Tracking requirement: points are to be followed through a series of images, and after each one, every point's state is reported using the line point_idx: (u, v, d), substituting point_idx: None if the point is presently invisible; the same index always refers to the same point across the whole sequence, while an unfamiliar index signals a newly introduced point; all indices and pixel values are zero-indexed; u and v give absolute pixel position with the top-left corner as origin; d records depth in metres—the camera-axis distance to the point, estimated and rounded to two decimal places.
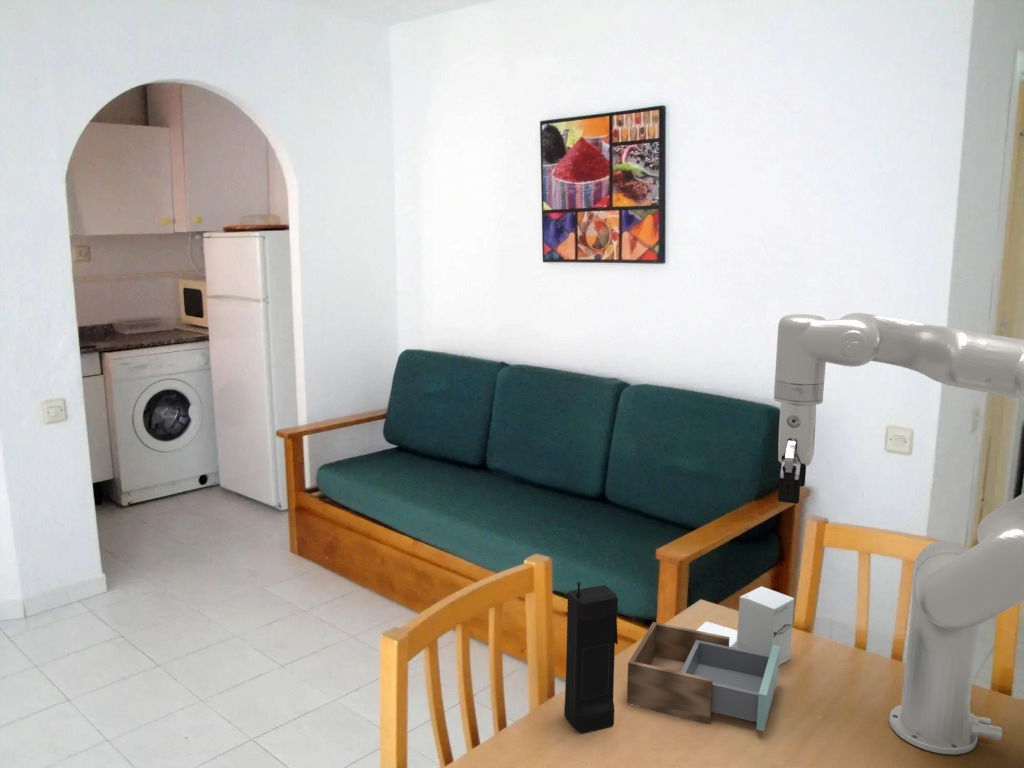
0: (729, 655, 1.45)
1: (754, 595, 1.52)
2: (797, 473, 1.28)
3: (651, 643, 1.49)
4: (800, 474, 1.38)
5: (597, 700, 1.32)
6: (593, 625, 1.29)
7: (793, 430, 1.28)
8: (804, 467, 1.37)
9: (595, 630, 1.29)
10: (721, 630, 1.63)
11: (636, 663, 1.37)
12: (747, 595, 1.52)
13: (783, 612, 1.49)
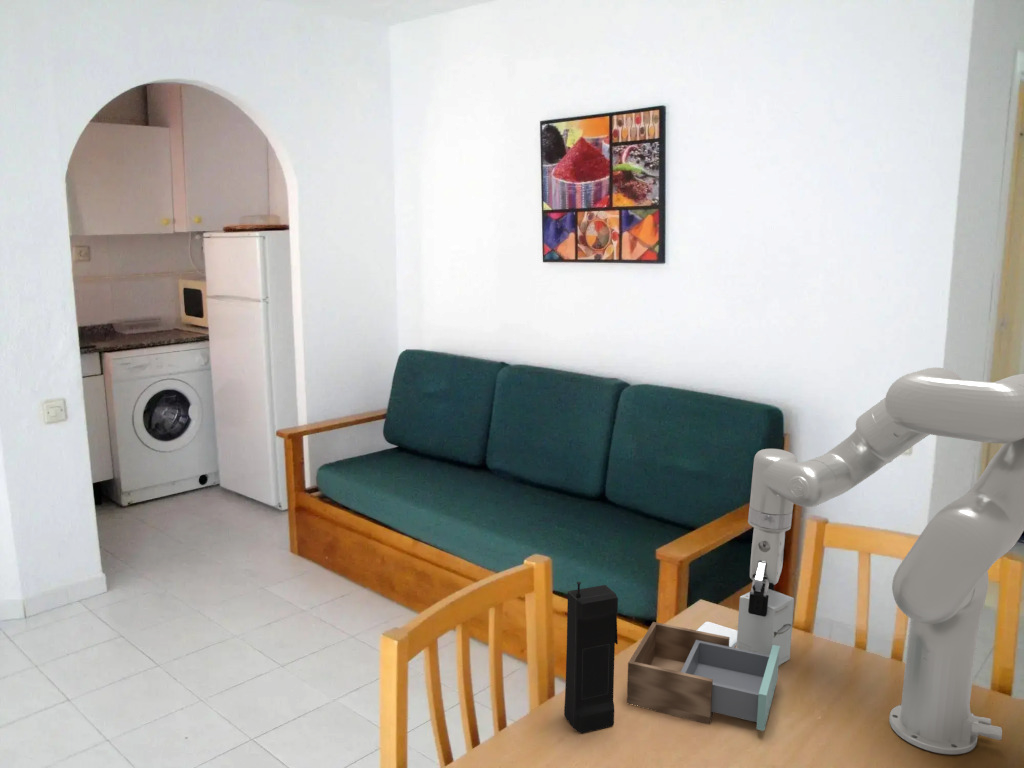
0: (729, 655, 1.45)
1: None
2: (765, 591, 1.46)
3: (651, 643, 1.49)
4: (770, 583, 1.56)
5: (597, 700, 1.32)
6: (593, 625, 1.29)
7: (763, 554, 1.45)
8: None
9: (595, 630, 1.29)
10: (721, 630, 1.63)
11: (636, 663, 1.37)
12: (747, 595, 1.52)
13: (783, 612, 1.49)
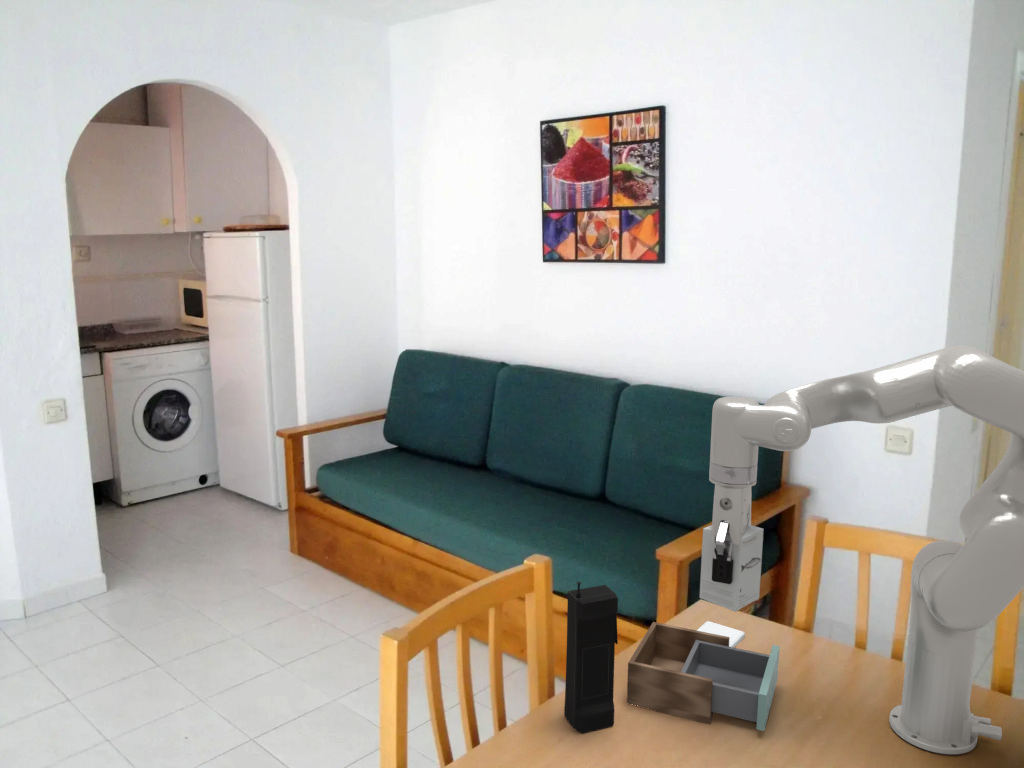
0: (729, 655, 1.45)
1: None
2: (729, 555, 1.30)
3: (651, 643, 1.49)
4: None
5: (597, 700, 1.32)
6: (593, 625, 1.29)
7: (725, 512, 1.30)
8: None
9: (595, 630, 1.29)
10: (722, 630, 1.63)
11: (636, 663, 1.37)
12: (711, 526, 1.35)
13: (752, 543, 1.33)
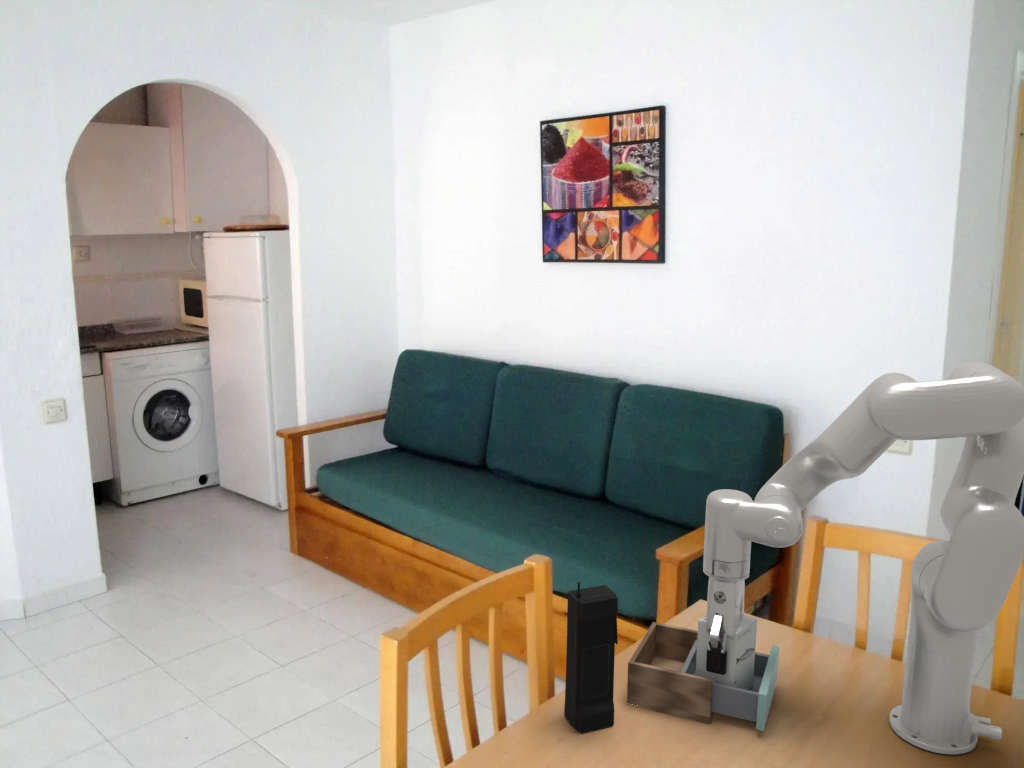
0: None
1: None
2: (723, 647, 1.33)
3: (651, 643, 1.49)
4: None
5: (597, 700, 1.32)
6: (593, 625, 1.29)
7: (719, 606, 1.33)
8: None
9: (595, 630, 1.29)
10: None
11: (636, 663, 1.37)
12: None
13: (746, 636, 1.35)
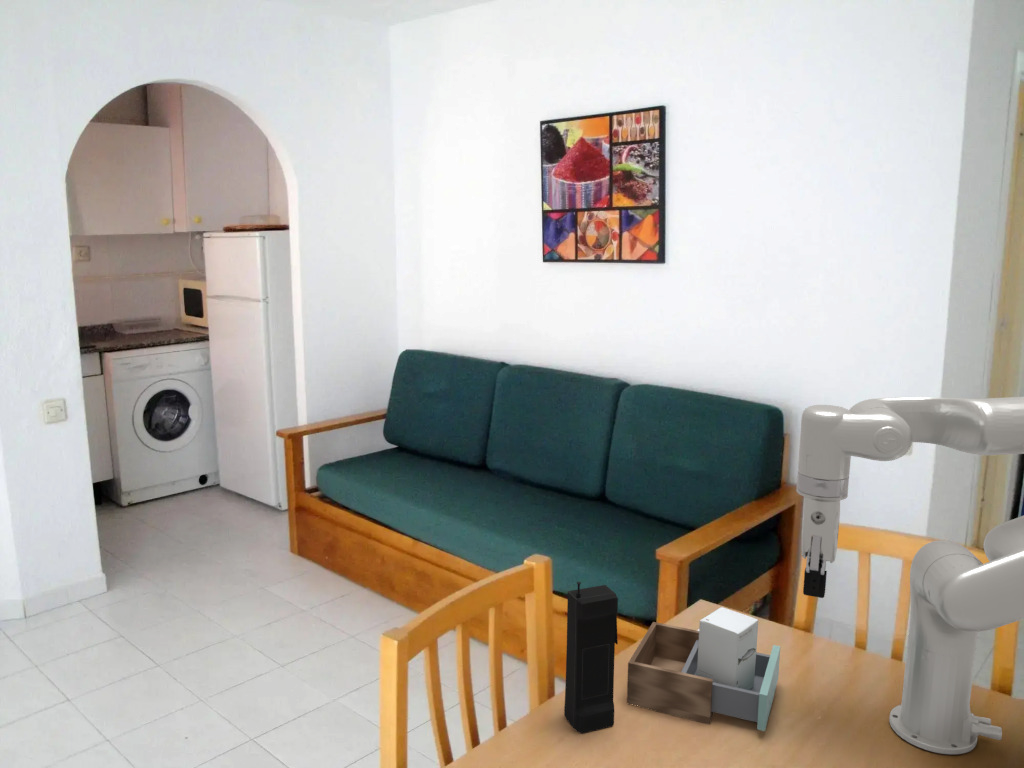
0: None
1: (715, 618, 1.38)
2: (823, 571, 1.28)
3: (651, 643, 1.49)
4: None
5: (597, 700, 1.32)
6: (593, 625, 1.29)
7: (817, 527, 1.24)
8: None
9: (595, 630, 1.29)
10: None
11: (636, 663, 1.37)
12: (707, 618, 1.38)
13: (748, 636, 1.35)
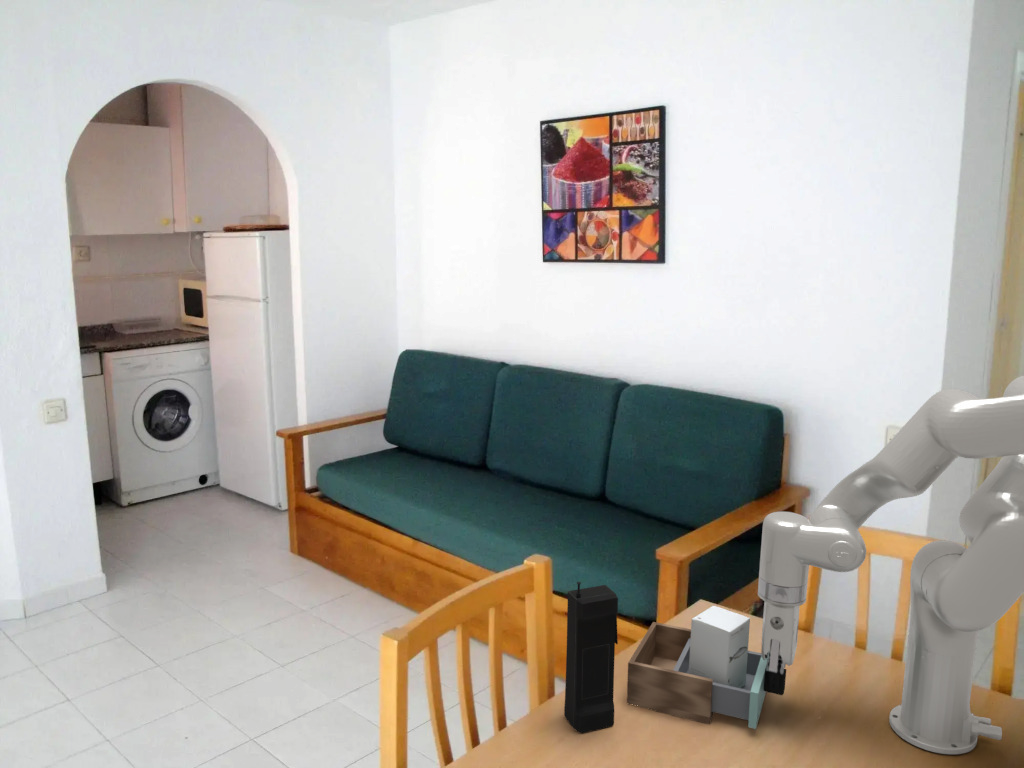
0: None
1: (707, 616, 1.38)
2: (782, 671, 1.33)
3: (651, 643, 1.49)
4: None
5: (597, 700, 1.32)
6: (593, 625, 1.29)
7: (776, 631, 1.29)
8: None
9: (595, 630, 1.29)
10: None
11: (636, 663, 1.37)
12: (699, 616, 1.38)
13: (739, 634, 1.36)
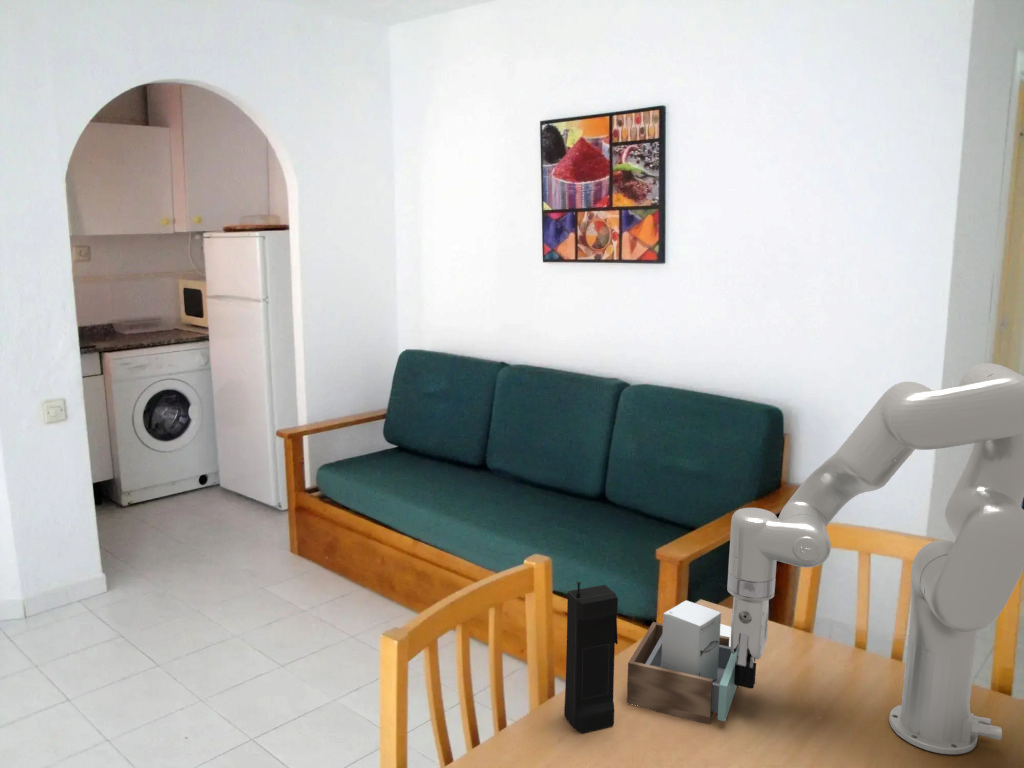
0: None
1: (678, 611, 1.40)
2: (751, 665, 1.35)
3: (651, 643, 1.49)
4: None
5: (597, 700, 1.32)
6: (593, 625, 1.29)
7: (744, 626, 1.31)
8: None
9: (595, 630, 1.29)
10: (724, 629, 1.63)
11: (636, 663, 1.37)
12: (671, 611, 1.40)
13: (710, 628, 1.38)
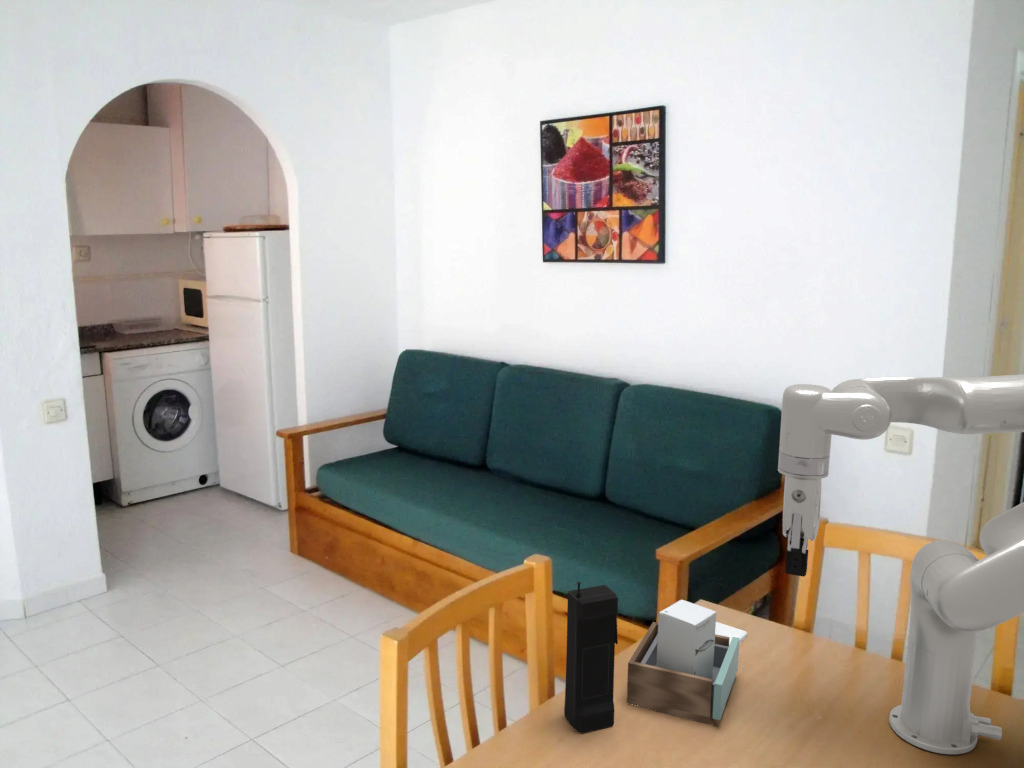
0: None
1: (674, 610, 1.40)
2: (804, 550, 1.28)
3: (651, 643, 1.49)
4: None
5: (597, 700, 1.32)
6: (593, 625, 1.29)
7: (798, 505, 1.25)
8: None
9: (595, 630, 1.29)
10: (725, 629, 1.63)
11: (636, 663, 1.37)
12: (666, 610, 1.41)
13: (705, 627, 1.38)
